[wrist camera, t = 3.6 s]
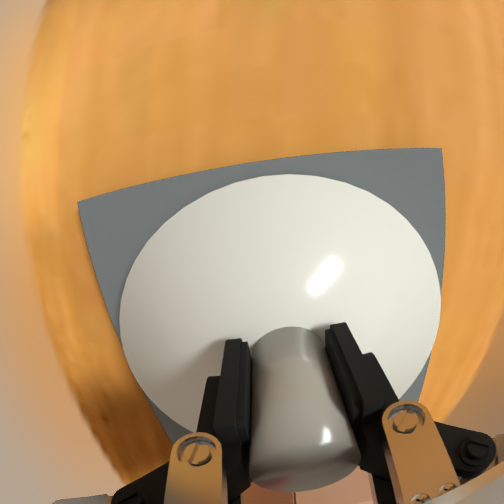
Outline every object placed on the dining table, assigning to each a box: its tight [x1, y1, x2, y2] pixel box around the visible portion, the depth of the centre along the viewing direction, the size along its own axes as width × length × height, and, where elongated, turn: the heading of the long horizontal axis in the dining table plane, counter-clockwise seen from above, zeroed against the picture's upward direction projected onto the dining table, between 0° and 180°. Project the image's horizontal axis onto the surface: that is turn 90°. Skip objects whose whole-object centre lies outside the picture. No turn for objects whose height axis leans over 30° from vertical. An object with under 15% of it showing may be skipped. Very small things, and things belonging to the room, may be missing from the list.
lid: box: [119, 174, 441, 492], centre depth 8 cm, size 13×13×6 cm
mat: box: [77, 148, 445, 445], centre depth 11 cm, size 14×14×1 cm
